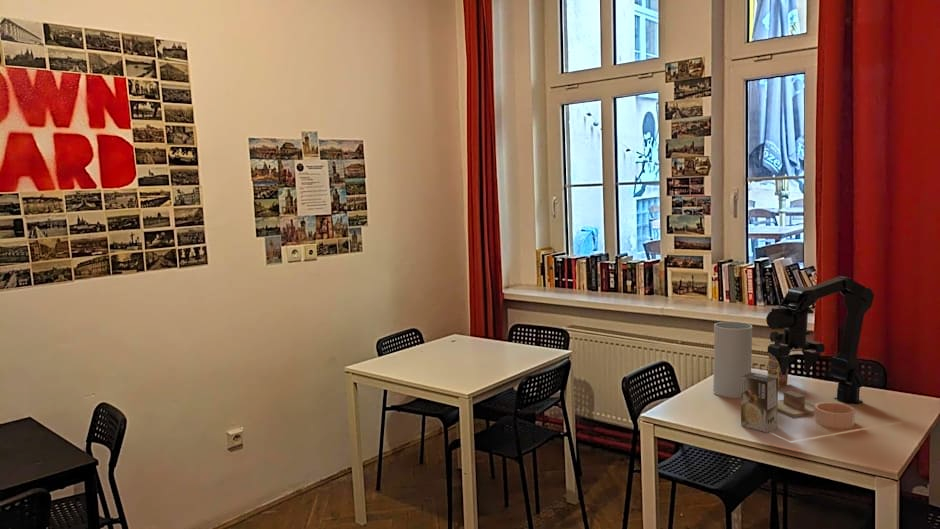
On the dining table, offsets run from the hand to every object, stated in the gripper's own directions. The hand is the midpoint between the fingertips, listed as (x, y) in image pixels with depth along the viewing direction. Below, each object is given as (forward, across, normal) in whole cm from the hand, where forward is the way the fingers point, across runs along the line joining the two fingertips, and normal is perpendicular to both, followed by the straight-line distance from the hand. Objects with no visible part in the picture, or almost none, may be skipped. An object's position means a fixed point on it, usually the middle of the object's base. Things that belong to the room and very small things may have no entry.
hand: (794, 373), depth 232 cm
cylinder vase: (+13, +6, -22) cm, 26 cm away
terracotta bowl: (+12, -2, +14) cm, 19 cm away
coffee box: (+13, +21, +8) cm, 26 cm away
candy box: (+12, -15, -23) cm, 30 cm away
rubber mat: (+12, 0, 0) cm, 12 cm away
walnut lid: (+12, 0, 0) cm, 12 cm away
